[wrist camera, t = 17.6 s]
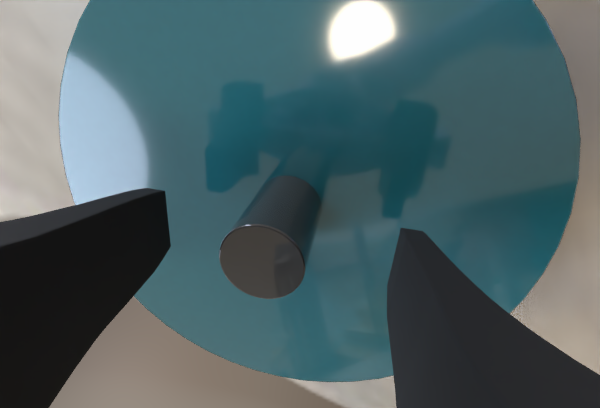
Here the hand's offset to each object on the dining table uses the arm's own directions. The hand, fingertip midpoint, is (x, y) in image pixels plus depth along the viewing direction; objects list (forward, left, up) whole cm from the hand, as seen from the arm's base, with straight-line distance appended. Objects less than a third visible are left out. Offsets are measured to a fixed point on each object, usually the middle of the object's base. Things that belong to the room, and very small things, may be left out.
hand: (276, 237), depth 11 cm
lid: (0, 0, -3) cm, 3 cm away
